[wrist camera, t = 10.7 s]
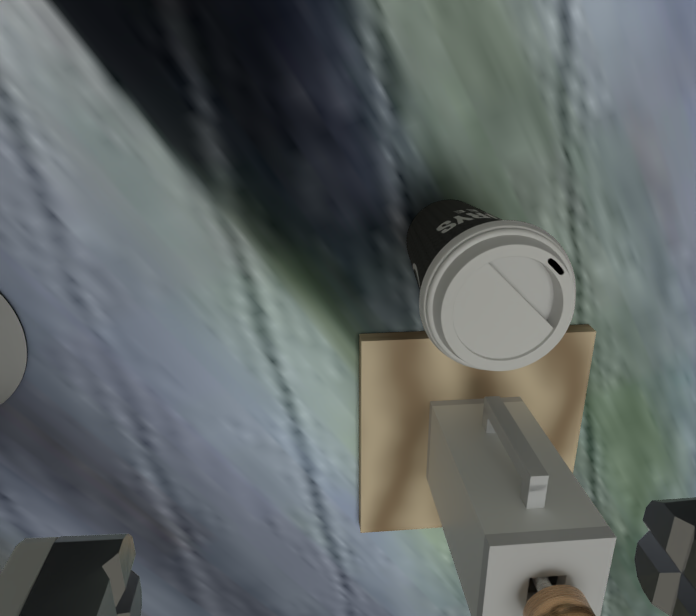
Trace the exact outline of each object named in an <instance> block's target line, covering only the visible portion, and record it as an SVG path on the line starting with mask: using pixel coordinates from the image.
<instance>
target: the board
mask: <svg viewBox="0 0 696 616" xmlns="http://www.w3.org/2000/svg"><path fill="white" fill-rule="evenodd" d="M595 336H596V331H595V330H594V329H593V328H592V327H591V326H589V325H588V324H584V325H569V327H568V329H567V331H566V333H565V334H564V336H563V337H562V339H561V340H560V341H559V343H558V344H557V345H556V346H555V347H554V348H553V349H552V350H551V351H550V352H549V353H547V354H546V355H545V356H543V357H542V358H541V359H539V360H537V361H536V362H534V363H532V364H529V365H527V366H525V367H522V368H518V369H514V370H509V371H489V370H480V369H475V368H471V367H468V366H465V365H462V364H460V363H458V362H456V361H454V360H452V359H451V358H449V357H447V356H446V355H445V354H443V353H442V352H441V351H440V350H439V349H438V348H437V347H436V346H435V345H434V344H433V343H432V342H431V340H430V339H429V337H428V335H427V334H426V332H425V331H416V332H392V333H368V334H359V524H360V531H361V533H365V532H379V531H394V530H409V529H424V528H438V527H442V524H441V521H440V518H439V515H438V512H437V509H436V506H435V503H434V500H433V497H432V494H431V491H430V487H429V484H428V481H427V478H426V469H427V450H428V431H429V412H430V401H444V400H463V399H483V398H484V397H490V396H500V398H503V397H521V399H522V400H523V402H524V403H525V405H526V406H527V408H528V409H529V411H530V412H531V413H532V415H533V416H534V418H535V419H536V421H537V422H538V424H539V425H540V427H541V428H542V429H543V431H544V432H545V434H546V435H547V437H548V438H549V440H550V441H551V443H552V444H553V446H554V447H555V448H556V450H557V451H558V453H559V454H560V456H561V457H562V459H563V460H564V462H565V463H566V465H567V466H568V467H569V469H570V470H571V472H572V473H573V469H574V463H575V457H576V451H577V445H578V439H579V433H580V427H581V421H582V415H583V409H584V403H585V396H586V390H587V384H588V378H589V372H590V366H591V360H592V354H593V348H594V342H595Z"/></svg>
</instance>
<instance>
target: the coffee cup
mask: <svg viewBox="0 0 696 616" xmlns="http://www.w3.org/2000/svg"><path fill="white" fill-rule="evenodd" d="M407 250H408V254H409V257H410V260H411V263H412V267H413V270H414V273H415V276H416V279H417V282H418V286H419V289H420V297H419V310H420V317H421V321H422V324H423V327H424V329H425V332H426V334H427V335H428V337H429V339H430V340H431V342H432V343H433V344H434V345H435V346H436V347H437V348H438V349H439V350H440V351H441V352H442V353H443V354H445V355H446V356H447V357H449V358H451V359H452V360H454V361H456V362H458V363H460V364H462V365H465V366H468V367H471V368H475V369H480V370H489V371H509V370H514V369H518V368H522V367H525V366H527V365H529V364H532V363H534V362H536V361H537V360H539V359H541V358H542V357H543V356H545V355H546V354H547V353H549V352H550V351H551V350H552V349H553V348H554V347H555V346H556V345H557V344H558V343H559V341H560V340H561V339H562V337H563V336H564V334H565V333H566V331H567V329H568V327H569V325H570V323H571V320H572V317H573V313H574V308H575V297H576V284H575V276H574V271H573V268H572V265H571V263H570V260H569V258H568V256H567V254H566V252H565V251H564V249H563V248H562V246H561V245H560V244H559V243H558V241H557V240H556V239H555V238H554V237H552V236H551V235H550V234H549V233H547V232H546V231H544V230H543V229H541V228H539V227H537V226H534V225H532V224H529V223H525V222H521V221H513V220H502V219H499V218H497V217H495V216H493V215H491V214H488V213H486V212H484V211H482V210H480V209H478V208H475V207H473V206H471V205H469V204H467V203H464V202H462V201H458V200H442V201H438V202H435V203H432V204H430V205H429V206H427V207H425V208H424V209H423V210H422V211H420V212H419V213H418V214H417V216H416V217H415V218H414V220H413V221H412V223H411V225H410V227H409V230H408V234H407Z"/></svg>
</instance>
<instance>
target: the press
mask: <svg viewBox="0 0 696 616" xmlns="http://www.w3.org/2000/svg"><path fill="white" fill-rule="evenodd" d="M426 478H427V481H428V484H429V487H430V491H431V494H432V497H433V500H434V503H435V506H436V509H437V512H438V515H439V518H440V521H441V524H442V527H443V530H444V533H445V537H446V540H447V543H448V546H449V549H450V552H451V555H452V558H453V561H454V564H455V567H456V570H457V573H458V576H459V579H460V582H461V586H462V589H463V592H464V595H465V598H466V601H467V604H468V607H469V610H470V613H471V616H523V610H524V607H525V605H526V603H527V601H528V600H529V599H530V598H531V597H532V596H533V595H534V594H535V593H537V592H538V591H537V589H536V587H535V585H534V583H533V581H532V579H531V578H536V577H548V578H549V580H550V582H551V584H552V586H553V585H570V586H573V587H576V588H578V589H579V590H580V591H581V592H582V593H583V594H584V596H585V597H586V599H587V601H588V603H589V605H590V606H591V608H592V610H593V612H594V614H595V615H596V616H600V614H601V609H602V604H603V600H604V595H605V590H606V585H607V580H608V575H609V571H610V566H611V561H612V556H613V551H614V547H615V542H616V536H615V535H614V533H613V532H612V530H611V529H610V527H609V526H608V524H607V523H606V522H605V520H604V519H603V517H602V516H601V514H600V513H599V511H598V510H597V508H596V507H595V505H594V504H593V503H592V501H591V500H590V498H589V497H588V495H587V494H586V492H585V491H584V489H583V488H582V486H581V485H580V484H579V482H578V481H577V479H576V478H575V476H574V475H573V473H572V472H571V470H570V469H569V467H568V466H567V465H566V463H565V462H564V460H563V459H562V457H561V456H560V454H559V453H558V451H557V450H556V448H555V447H554V446H553V444H552V443H551V441H550V440H549V438H548V437H547V435H546V434H545V432H544V431H543V429H542V428H541V427H540V425H539V424H538V422H537V421H536V419H535V418H534V416H533V415H532V413H531V412H530V411H529V409H528V408H527V406H526V405H525V403H524V402H523V400H522V399H521V397H503V398H500V396H490V397H484V398H483V399H463V400H444V401H430V412H429V431H428V450H427V469H426Z"/></svg>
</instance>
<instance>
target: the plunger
mask: <svg viewBox="0 0 696 616" xmlns="http://www.w3.org/2000/svg"><path fill="white" fill-rule="evenodd" d="M531 579H532V581H533V583H534V585H535V587H536V589H537V591H538V592H537V593H535V594H534V595H533V596H532V597H531V598H530V599H529V600H528V601H527V603H526V605H525V607H524V610H523V616H596V615H595V614H594V612H593V610H592V608H591V606H590V605H589V603H588V601H587V599H586V597H585V596H584V594H583V593H582V592H581V591H580V590H579V589H578V588H576V587H573V586H570V585H553V586H552V584H551V582H550V580H549V578H548V577H536V578H531Z"/></svg>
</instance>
